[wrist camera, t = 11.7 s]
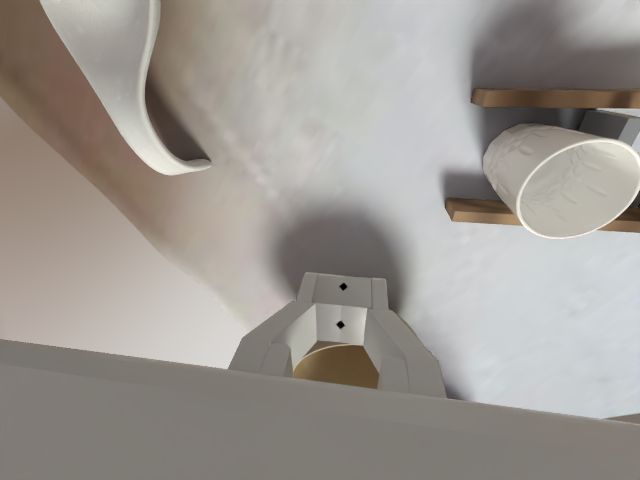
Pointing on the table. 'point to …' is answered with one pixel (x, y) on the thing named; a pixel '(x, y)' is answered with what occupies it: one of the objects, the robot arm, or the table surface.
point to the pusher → (611, 125)
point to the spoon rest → (119, 67)
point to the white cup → (562, 178)
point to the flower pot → (339, 364)
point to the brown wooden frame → (546, 98)
